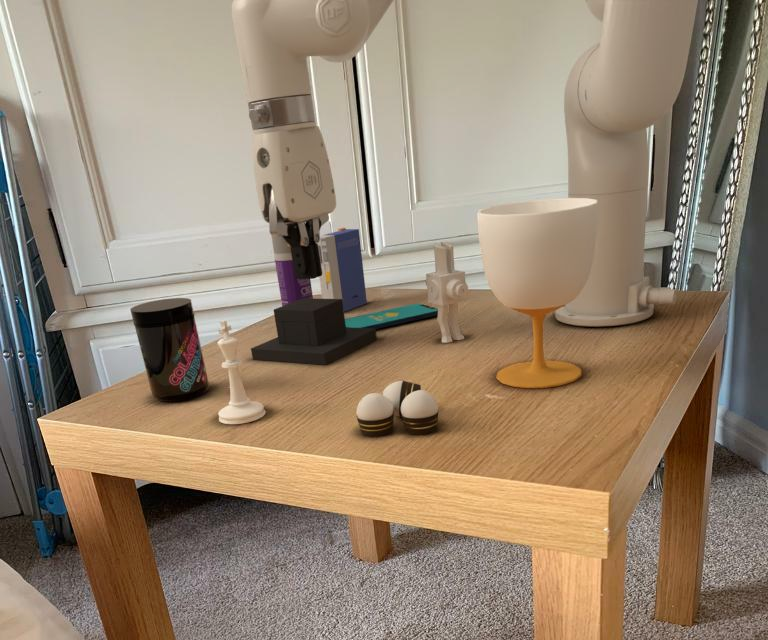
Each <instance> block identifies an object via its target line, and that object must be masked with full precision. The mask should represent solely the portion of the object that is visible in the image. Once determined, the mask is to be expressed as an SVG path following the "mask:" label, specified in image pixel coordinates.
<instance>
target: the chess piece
mask: <svg viewBox="0 0 768 640" xmlns="http://www.w3.org/2000/svg"><path fill="white" fill-rule="evenodd" d="M220 327H221V328H218V334H219V335H222V338H220V339H219V340H218V341H217V346H218V348H219V349H220V351H221V354H222V355H223V357H224V358H225V361H223V362H222V363H221V368H223V369H227V370H228V371H227V372H228V379H229V380H228V381H229V390H230V391H229V392H230V393H229V394H230V400H229V401H228V405H226V406H224V407H223V408H221V409H220V410H219V411H218V421H219V422H220V423H222V424H225V425H241V424H242V425H243V424H247V423H251V422H254V421H257V420H259V419H262V418H263V417H264V416H265V415H266V413H267V412H266V410H265V406H264V404H263V403H261V402H258V401H252V400H251V398H250V397H248V396H247V393H246V390H245V387H244V384H243V382H242V379H241V376H240V375H241V374H240V373H239V367H241V366H242V365H243V364H244V363H243V361H242V360H241V359H238V358H237V349H238V343H239V342H238V338H236V337H232V336H230V331H231V330H232V325H231V324H228V321H227V320H221V321H220Z"/></svg>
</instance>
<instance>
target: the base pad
mask: <svg viewBox="0 0 768 640" xmlns="http://www.w3.org/2000/svg"><path fill="white" fill-rule="evenodd" d="M377 339H378V338H377V329H375V328H352V327H346V333H345V334H343V335H341V336H339V337H336V338H334V339H332V340H330V341H328V342H326V343H324V344H321V345H319V346H310V345H293V344H279V340H278V336H277V337H275V338H272V339H269V340H267V341H266V342H265V341H264V342H263V343H261V344H258V345H255V346H253V347H251V348H250V352H251V357H252V360H255V361H268V362H281V363H295V364H307V365H308V364H309V365H311V364H312V365H322V366H327V365H329V364H331V363H333V362H335V361H338V360H339V359H340V358H341V359H342V357H344V356H346V355H348V354H351V353H352V352H354V351H356V350H358V349H360V348H362V347H364V346H366V345H368V344H370V343H372V342H374V341H376V340H377Z"/></svg>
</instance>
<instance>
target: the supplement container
mask: <svg viewBox="0 0 768 640" xmlns="http://www.w3.org/2000/svg"><path fill="white" fill-rule="evenodd" d="M130 314H131V317H132V321H133V322H132V323H133V326H134V329H135V333H136V337H137V341H138V344H139V348H140V353H141V356H142V360H143V364H144V369H145V372H146V376H147V380H148V384H149V388H150V393H151V396H153V398H154V399H156V400H157V401H159V402H162V403H163V402H164V403H176V402H183V401H188V400H192V399H195V398H198V397H200V396H202V395H203V394H206V392H207V391H208V389H209V386H210V382H209V377H208V373H207V368H206V364H205V359H204V355H203V349H202V345H201V339H200V336H199V331H198V326H197V322H196V317H195V316H196V315H195V311H194V307H193V302H192V299H191V298H188V297H187V298H186V297H173V298H171V297H170V298H165V299H164V298H163V299H155V300H151V301H147V302H144V303H140V304H137V305H134V306H132V307H130Z"/></svg>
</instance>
